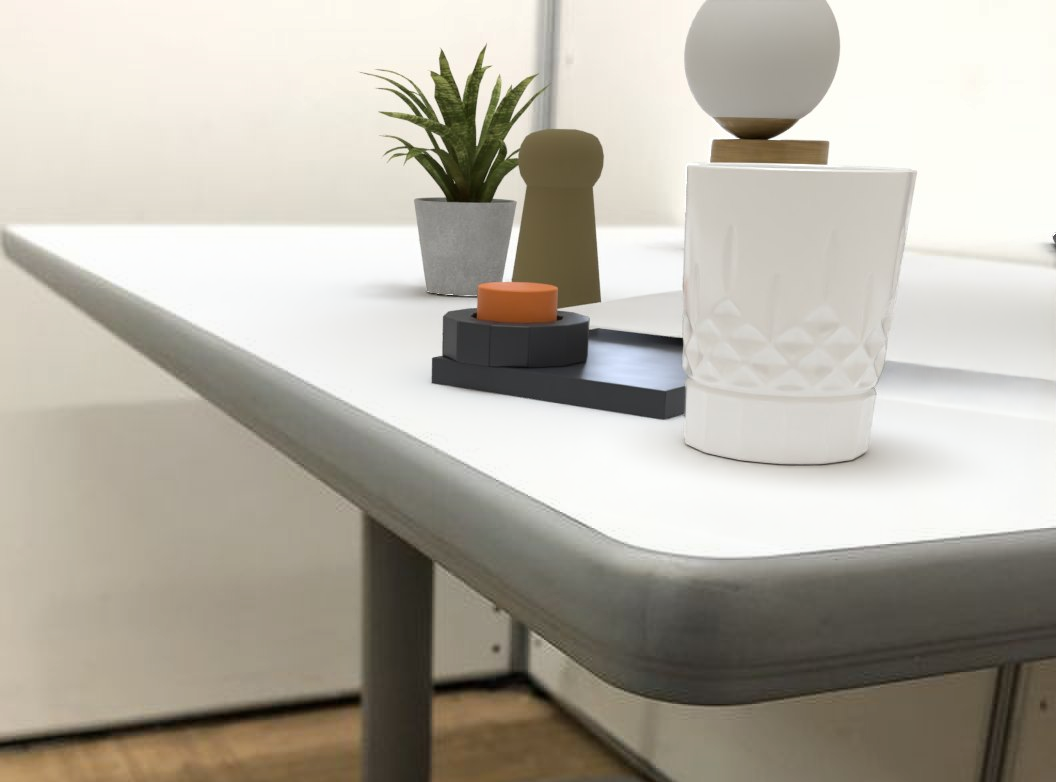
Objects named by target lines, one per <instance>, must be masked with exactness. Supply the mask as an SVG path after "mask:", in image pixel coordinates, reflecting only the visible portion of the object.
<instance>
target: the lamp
mask: <svg viewBox="0 0 1056 782" xmlns="http://www.w3.org/2000/svg"><path fill="white" fill-rule="evenodd" d="M683 52H684V53H683V64H684V66H683V67H684V72H685V78H686V81H687V85H688V87H689V90H690V92H691V94H692V96H693V99H694V101H696V103H697V105H698V106H699V108H701V110H702V111H703V112H704V113H705V114H707V115H708V116H709V117H711V120H712V121H713V123H715V124H716V125H717V126H718V127H719V128H720V129H721V130H723V132H725V133H727V134H728V135H730V136H731V137H711V138H710V139H709V147H708V148H709V150H708V162H707V163H778V164H815V165H828V161H829V153H830V152H829V151H830V141H829V140H821V139H820V140H819V139H787V138H786V139H784V138H776V137H778V136H780V135H782V134H783V133H785V132H786V131H788V130H790V129H792V127H794V126H795V125H796V124H798V122H799V121H800V120H801V119H803V118H805V117H806V116H808V115H809V114H810V113H812V112H813V111H814V110H815V108H817V106H819V104H820V103H821V102H822V101H823V99H824V98H825V96H826V95H827V93H828V92H829V90H830V88H831V86H832V84H833V82H834V79H835V76H836V74H837V70H838V67H839V62H840V56H841V37H840V31H839V25H838V21H837V19H836V16H835V14H834V12H833V10H832V8H831V6H830V4H829V3H828V1H827V0H704V2H703V3H702V5H700V7H699V8H698V10H697V12H696V13H695V15H694V17H693V19H692V21H691V24H690V26H689V29H688V31H687V35H686V39H685V45H684V51H683Z"/></svg>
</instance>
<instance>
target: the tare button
mask: <svg viewBox="0 0 1056 782" xmlns="http://www.w3.org/2000/svg"><path fill="white" fill-rule="evenodd" d="M476 297H477V298H476V300H477V301H476V308H477V319H481V320H490V321H498V322H517V323H532V322H552V321H557V310H558V309H557V301H558V288H557V287H556V286H553V285H548V284H540V283H528V282H511V281H502V282H492V283H484V284H480V285H478V296H476Z"/></svg>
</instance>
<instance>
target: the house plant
mask: <svg viewBox="0 0 1056 782" xmlns="http://www.w3.org/2000/svg"><path fill="white" fill-rule="evenodd" d="M487 46H488V42H486V43H485V45H484V46H483V48H482V49H481V51H480V52H479V54H478V56H477V59H476V62H475V65H474V67H473V70H472V72H471V73H469V74H468V76H467V78H466V81H465V82H466V83H465V85H464V90H463V94H462V97H461V94H460V91H459V87H458V85H457V83H456V81H455V78H454V75H453V73H452V70H451V67H450V64H449V61H448V59H447V56H446V53H445V52H444V51H443V49H442V48H441V47H439V49H440V51H439V57H438V63H439V64H438V65H439V73H438V72H435V71H433V70H430V69H429V70H428V71H429V72H430V77H431V79H432V81H433V83H434V95H433V98H434V100H435V102H436V105H437V107H438V109H439V112H440V113H441V114H440V115H441V117H442V120H443V123H441V122H440V120H439V118H438V116H437V114H436V113H435V110H434V108H433V107H432V105H431V104H430V102H429V100H428V99H427V97H426V96H425V95H424V93H423V91H422V90H421V89H420V87H419V86H417V84H415V83H414V81H412V80H411V79H409V78H408V77H406V76H405V75H403V74H401V73H398V72H396V71H393V70H389V69H381V68H380V69H379V68H374V70H376V71H381V72H387V73H391V74H395V75H398V76H400V77H402V78H403V79H405V80H407V81H408V82H409V83H410V84H411V85H412V86H413V87H414V90H415V91H416V92H415V91H414V90H413V91H412V90H409V89H408V88H407V87H405V85H403V84H400V83H398V82H396V81H395V80H393V79H390V78H387V77H385V76H381V75H379V74H378V75H377V74H374V73H367V72H362V71H359V73H360V74H364V75H368V76H372V77H376V78H379V79H381V80H384V81H387V82H388V83H390V84H392V85H393V86H394V87H396V88H398V90H400V91H401V92H400V91H398V90H396V89H394V88H393V89H392V88H388V87H375V89H378V90H382V91H383V90H384V91H388V92H391V93H393V94H394V95H396V96H398V98H400V99H401V100H402V102H404V103H405V104H406V105H407V106H408V107H409V109H410V110H411V111H412V112H413V113H414V114H411V113H404V112H398V111H397V112H393V111H379V113H380V114H382V115H385V116H387V117H389V118H394V119H399V120H403V121H406V122H409V123H412V124H414V125H416V126H418V127H420V128H422V129H424V131H425V132H426V134H427V136H428V138H429V139H430V142H431V145H432V146H433V148H424V147H417V146H414V145H412V144H411V143H410V142H408V141H407V140H405V139H403V138H401V137H398V136H396V135H391V134H385V135H383V138H384V137H385V138H391V139H395V140H397V141H399V142H401V144H403V145H402V146H397V147H393V148H391V149H389V150H387V151H385V153H384V154H383V155H382V156H381V158H382V157H384V156H387V154H389V153H391V152H393V151H396V150H397V151H398V150H401V149H407V150H408V152H407V153H404V152H397V153H394V154H393V155H391V156H390V158H388V161H387V162H386V164H388V163H389V162H390V161H391V160H392V159H394V158H396V157H402V156H405V159H404V163H403V166H405V164H406V163H407V162H408V161H409V160H410V159H412V158H414V159H415V160H416V161H417V162H418V163H419V164H420V165H421V166H422V167H423V169H424V170H425V171H426V172H427V173H428V175H429V176H430V177H431V178H432V180H434V182H435V183H436V185H437V186H438V187H439V188H440V190H441V191H442V193H443V195H444V197H443V196H442V197H441V196H440V197H437V196H436V197H418V198H414V199H413V204H414V208H415V209H414V211H415V218H416V224H417V231H418V240H419V245H420V246H419V247H420V254H421V262H422V267H423V274H424V275H423V276H424V282H425V290H426V292H427V291H429V292H432V293H439V294H453V295H478V285H480V284H484V283H492V282H503V280H504V274H505V268H506V263H507V258H508V252H509V247H510V241H511V236H512V232H513V225H514V220H515V214H516V210H517V204H518V202H517V200H513V199H503V198H495V197H494V196H495V195H496V192H497V190H498V188H499V186H500V185H501V183H502V181H503V180H504V178H505V177H506V176H507V175H508V174H509V173H510V172H511V171H513V170H514V169H515V168H517V167H519V166H518V157H513V156H514V155H516V154H519V150H520V147H519V148H518V149H516V150H514V151H512V152H511V153H510V154H509V155H508V147H507V144H506V142H505V139H506V137H507V136H508V133H509V132H510V131H511V129H512V127H513V126H514V124H516V123H517V121H518V120H519V118H521V116H522V115H523V114H524V113H525V112H526V110H527V109H528V108H529V107H530V106H531V105H532V103H533V102H534V100H535V99H536V98H537V97H538V96H539V95H541V94H542V93H544V91H545V90H546V89H547V88H548V87H549V86H550V85H551V83H549V84H547V85H546V86H545V87H543V88H542V89H540V90H538V91H537V92H536V93H535V94H534V95H532V97H531V98H529V100H528V101H527V102H526V103H525V104H524V105H523V106H522V107H521V108H520V109H519V110H518V111H517V112H516V113H515V114H514V112H515V109H516V107H517V105H518V103H519V101H520V99H521V98H522V96H523V94H524V92H525V91H526V89H527V88H528V86H529V85H530V83H531V82H532V81H533V80H534V79H535V78H536V77H537V76H538V75H539V73H540V72H538V73H535V74H533V75H531V76H527V77H525V78H524V79H523V80H521V81H520V82H519V83H518V84H517V85H516V86H514V87H513V85H512V84H510V86H509V88H507V91H506V93H505V96H503V98H502V99H501V101H500V98H501V92H502V77H501V73H498V76H497V78H496V81H495V85H494V86H493V89H492V91H491V96H490V99H489V100H490V101H489V104H488V107H487V110H486V113H485V117H484V120H483V123H482V127H481V131H480V135H479V139H478V142H477V124H476V123H477V122H476V118H477V106H478V97H479V91H480V85H481V83H482V80H483V78H484V75H485V73H486V71H487V70H488V69H489V68H491V67H493V66H494V65H487V66H483V63H484V59H485V53H486V50H487ZM355 72H358V71H355ZM402 92H403V93H404V94H403V93H402ZM406 95H407V96H408V97H407V96H406ZM419 97H420V99H419ZM412 101H413V102H412ZM499 101H500V102H499ZM414 103H415V104H414ZM417 106H418V107H417ZM419 109H420V110H421V111H422V113H423V114H424V115H425V116H426V117H424V116H423V114H422V113H421V111H420V110H419ZM513 114H514V116H513ZM434 134H435V135H436V136H439V137H440V139H441V142H442V143H443V145H444V147H445V149H446V150H445V149H443V148H440V146H439V143H438V141H437V140H436V138H435V136H434ZM378 136H380V137H382V135H378ZM429 151H431V152H433V153H434V154H436V156H438V158H439V160H440V162H441V164H442V165H441V164H440V163H439V162H438V160H436V159H435V158H433V156H432V155H431V154H430V153H429ZM507 155H508V156H507Z"/></svg>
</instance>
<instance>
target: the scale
mask: <svg viewBox="0 0 1056 782" xmlns="http://www.w3.org/2000/svg"><path fill="white" fill-rule="evenodd" d="M590 322H591V318H590V316H588V315H585V314H581V313H578V312H573V311H567V310H566V311H564V310H559V309H557V321H552V322H532V323H517V322H498V321H490V320H481V319H477V307H469V308H462V309H456V310H455V309H454V310H449V311H447V312H446V313H444V315H443V316H442V347H441V348H442V350H441V355H438V356H432V357H431V384H434V385H439V386H448V387H453V388H459V389H465V390H471V391H472V390H473V391H477V392H483V393H484V392H485V393H490V394H497V395H503V396H509V397H510V396H511V397H516V398H522V397H523V399H528V398H529V399H530V400H535V401H542V402H548V403H555V404H559V405H560V404H562V405H567V406H572V407H573V406H574V407H579V408H586V409H591V410H598V411H605V412H612V413H618V414H624V415H631V416H637V417H642V418H650V419H656V420H661V421H666V420H669V419H672V418H675V417H678V416H684V404H685V378H686V377H687V375H686V373H685V372H684V370H683V367H682V354H683V337H677V336H676V337H675V336H668V335H660V334H651V333H644V332H637V331H635V332H634V331H626V330H618V329H610V328H602V327H601V328H600V327H596V328H595V327H594V328H590Z"/></svg>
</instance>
